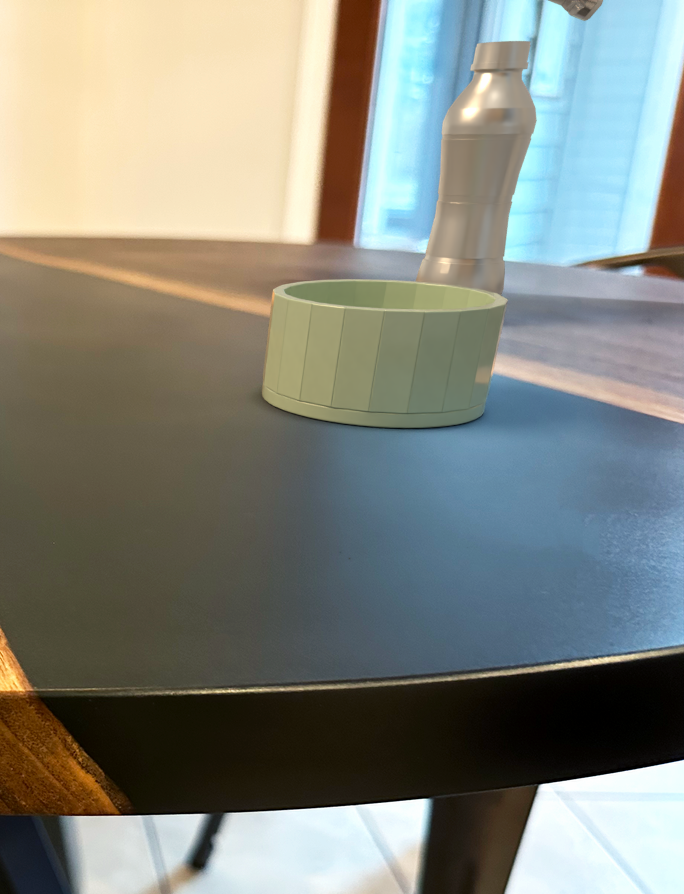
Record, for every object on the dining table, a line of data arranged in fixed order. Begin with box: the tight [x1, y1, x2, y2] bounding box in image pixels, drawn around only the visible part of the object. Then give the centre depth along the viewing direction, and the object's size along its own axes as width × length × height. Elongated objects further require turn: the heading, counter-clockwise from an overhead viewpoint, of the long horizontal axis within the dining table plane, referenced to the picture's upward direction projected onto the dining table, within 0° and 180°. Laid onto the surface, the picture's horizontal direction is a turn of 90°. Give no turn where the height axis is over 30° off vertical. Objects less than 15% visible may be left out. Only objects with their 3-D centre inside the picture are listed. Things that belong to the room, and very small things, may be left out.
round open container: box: [261, 278, 509, 429], centre depth 57 cm, size 12×12×6 cm
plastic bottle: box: [414, 40, 538, 296], centre depth 78 cm, size 6×7×20 cm
